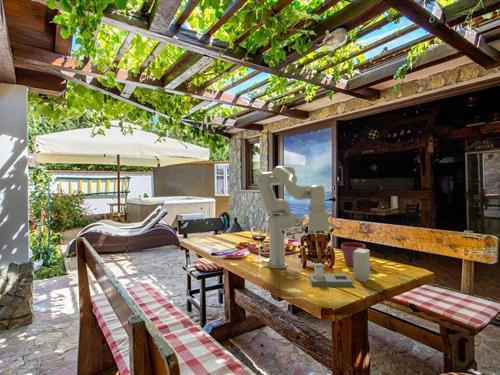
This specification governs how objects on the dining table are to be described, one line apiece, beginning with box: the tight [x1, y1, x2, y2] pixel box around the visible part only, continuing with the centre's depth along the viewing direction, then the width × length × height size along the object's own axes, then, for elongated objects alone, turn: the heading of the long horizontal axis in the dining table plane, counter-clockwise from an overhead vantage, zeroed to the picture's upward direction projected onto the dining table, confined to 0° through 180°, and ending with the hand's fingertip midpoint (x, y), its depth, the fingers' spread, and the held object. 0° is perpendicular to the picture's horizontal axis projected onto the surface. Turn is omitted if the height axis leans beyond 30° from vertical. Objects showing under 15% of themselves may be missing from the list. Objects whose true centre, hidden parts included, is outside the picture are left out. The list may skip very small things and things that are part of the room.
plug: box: [314, 262, 325, 279], centre depth 153 cm, size 4×4×9 cm
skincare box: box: [352, 248, 371, 283], centre depth 158 cm, size 8×7×16 cm
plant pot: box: [340, 242, 366, 268], centre depth 184 cm, size 14×14×13 cm
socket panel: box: [308, 273, 354, 287], centre depth 153 cm, size 20×12×3 cm, turn 85°
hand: (319, 241), depth 156 cm, fingers open, 9 cm apart
